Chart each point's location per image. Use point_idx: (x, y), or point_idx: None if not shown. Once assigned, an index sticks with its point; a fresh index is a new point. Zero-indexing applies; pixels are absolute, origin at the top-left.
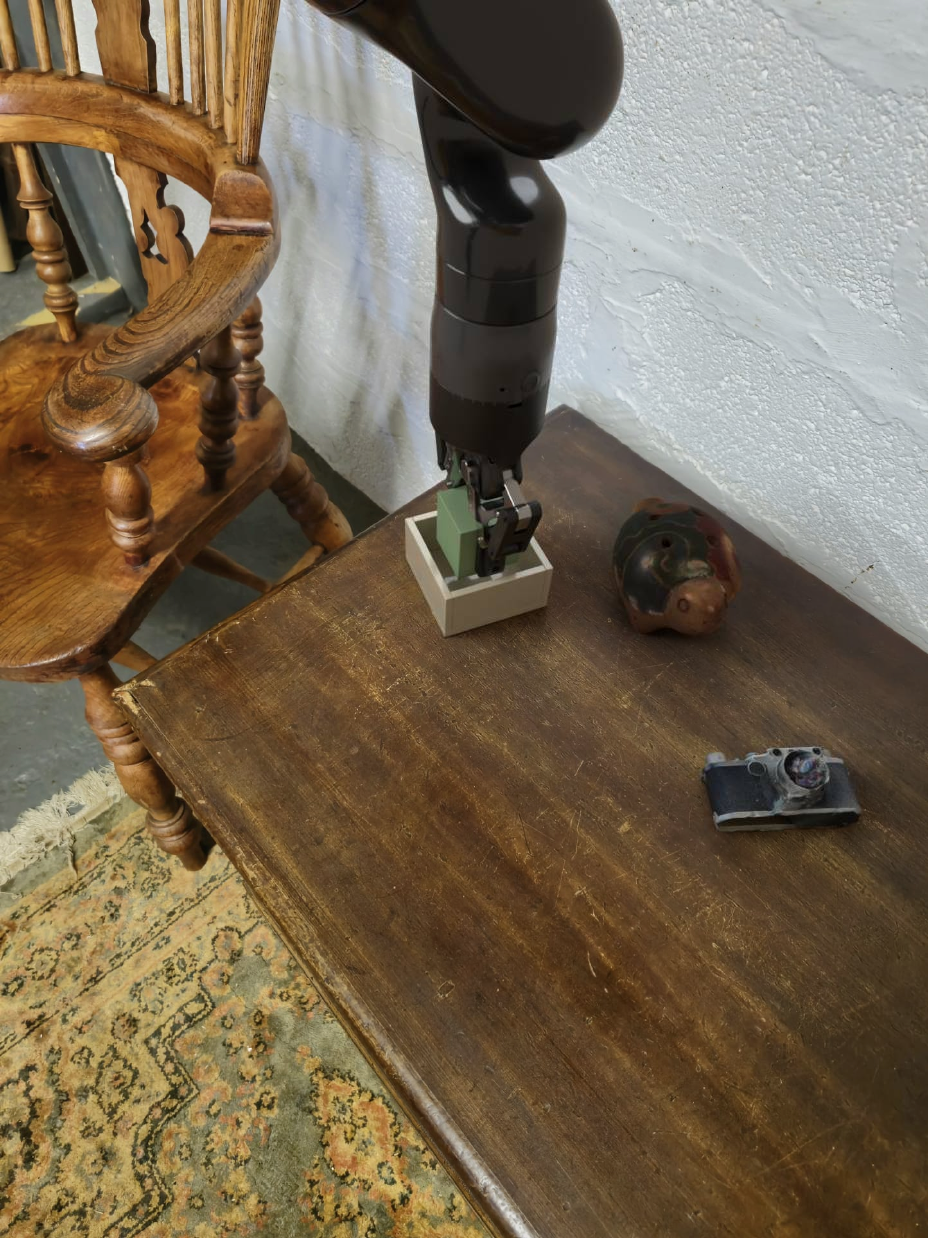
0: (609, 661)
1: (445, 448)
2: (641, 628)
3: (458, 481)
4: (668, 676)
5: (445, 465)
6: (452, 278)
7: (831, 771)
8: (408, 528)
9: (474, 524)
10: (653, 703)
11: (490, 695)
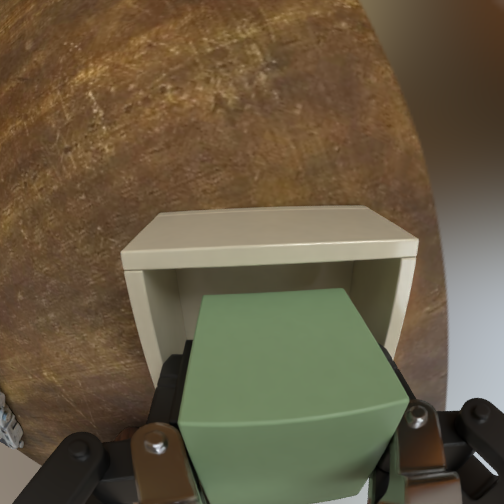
0: (95, 390)
1: (494, 462)
2: (117, 436)
3: (391, 469)
4: (80, 417)
5: (450, 489)
6: None
7: (2, 441)
8: (392, 236)
9: (214, 458)
10: (51, 393)
11: (51, 247)
